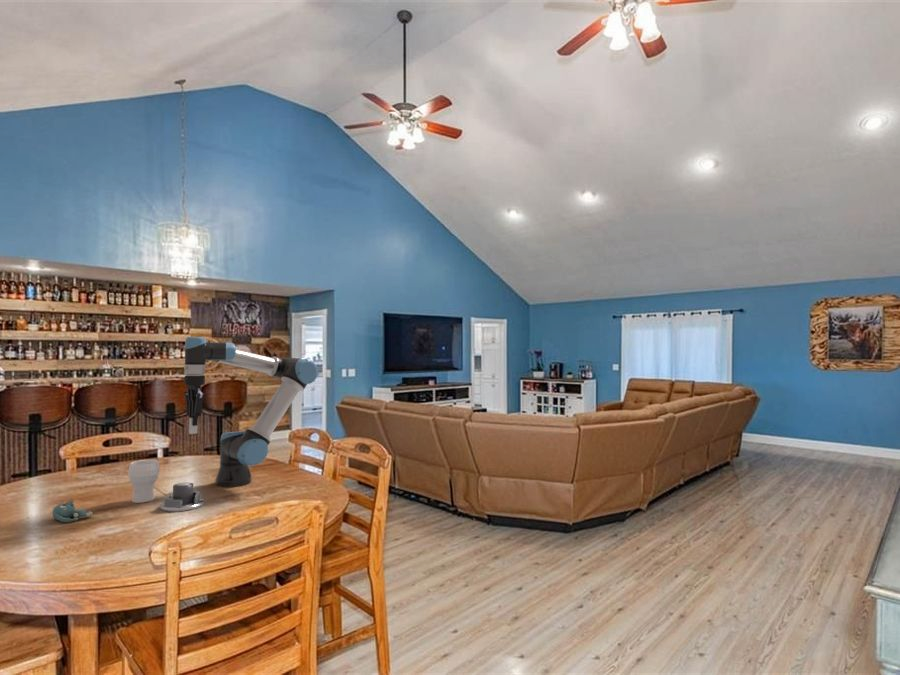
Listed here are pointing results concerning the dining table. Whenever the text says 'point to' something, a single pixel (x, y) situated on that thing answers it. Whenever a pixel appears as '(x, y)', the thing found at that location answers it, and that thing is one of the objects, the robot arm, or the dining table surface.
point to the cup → (143, 479)
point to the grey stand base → (176, 504)
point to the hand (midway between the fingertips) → (193, 433)
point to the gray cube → (183, 492)
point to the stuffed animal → (69, 512)
